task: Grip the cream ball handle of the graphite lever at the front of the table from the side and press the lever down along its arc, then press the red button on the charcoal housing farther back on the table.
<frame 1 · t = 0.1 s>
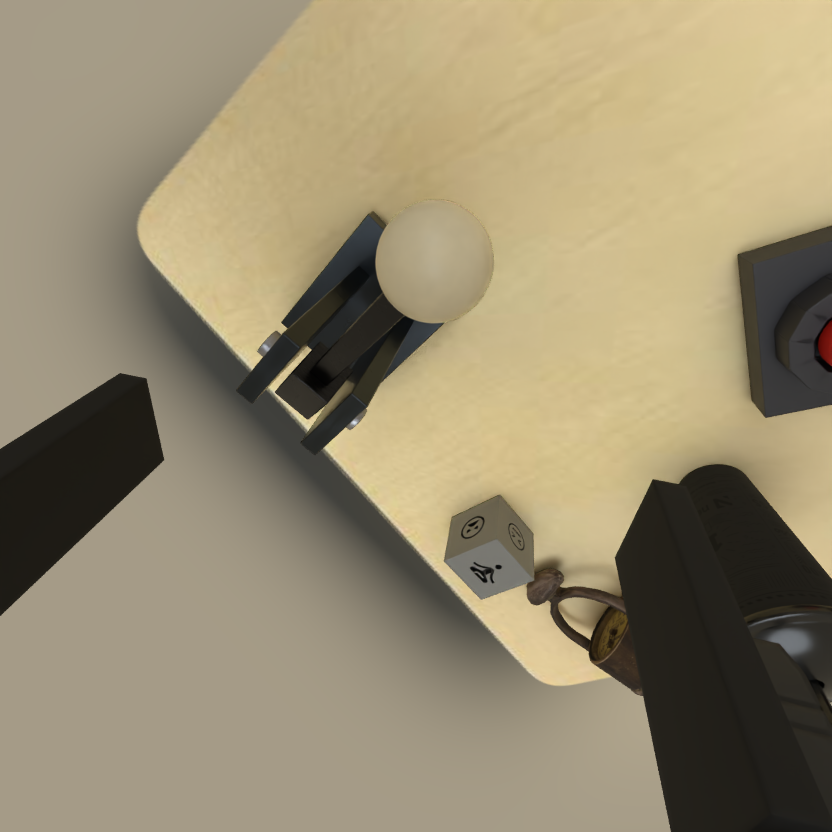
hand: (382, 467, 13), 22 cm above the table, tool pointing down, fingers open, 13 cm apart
dice cube: (492, 523, 42), on the table
bracket: (371, 309, 34), on the table
lever: (363, 332, 20), point 13 cm above the table, hinge at 25.0°
button box: (822, 312, 28), on the table
brown antique clock: (600, 592, 44), on the table
drinking cup: (711, 488, 36), on the table
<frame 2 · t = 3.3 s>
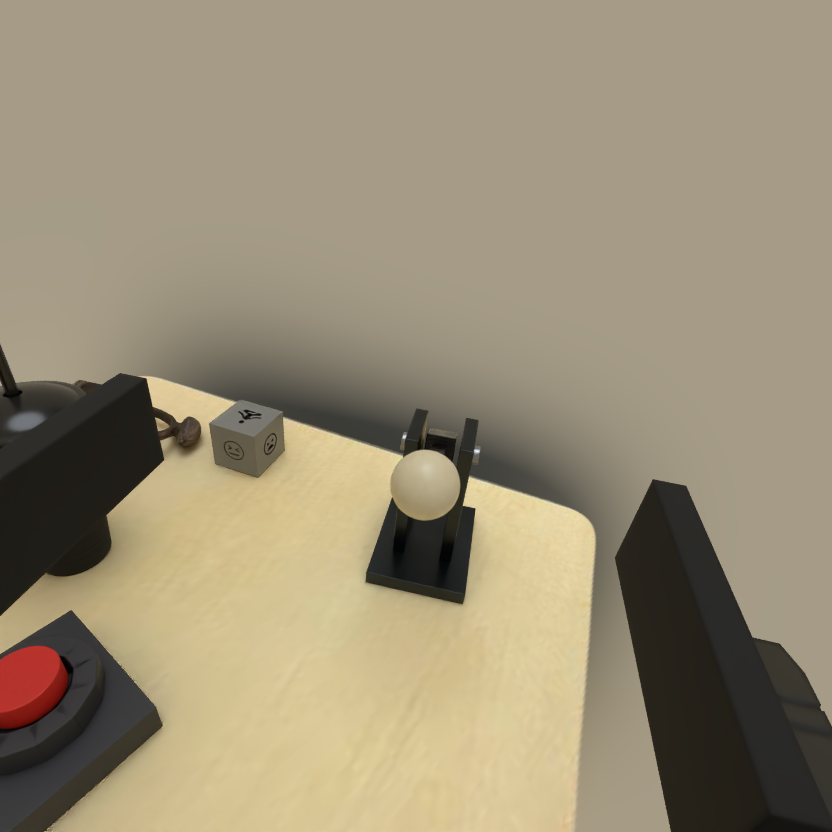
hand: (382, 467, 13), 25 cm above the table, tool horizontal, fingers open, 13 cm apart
dice cube: (251, 458, 51), on the table
bracket: (424, 546, 43), on the table
lever: (433, 464, 32), point 13 cm above the table, hinge at 25.0°
red button: (24, 685, 26), point 4 cm above the table, slide at 0.1 cm
button box: (49, 726, 29), on the table
brown antique clock: (133, 447, 51), on the table
drinking cup: (77, 553, 39), on the table
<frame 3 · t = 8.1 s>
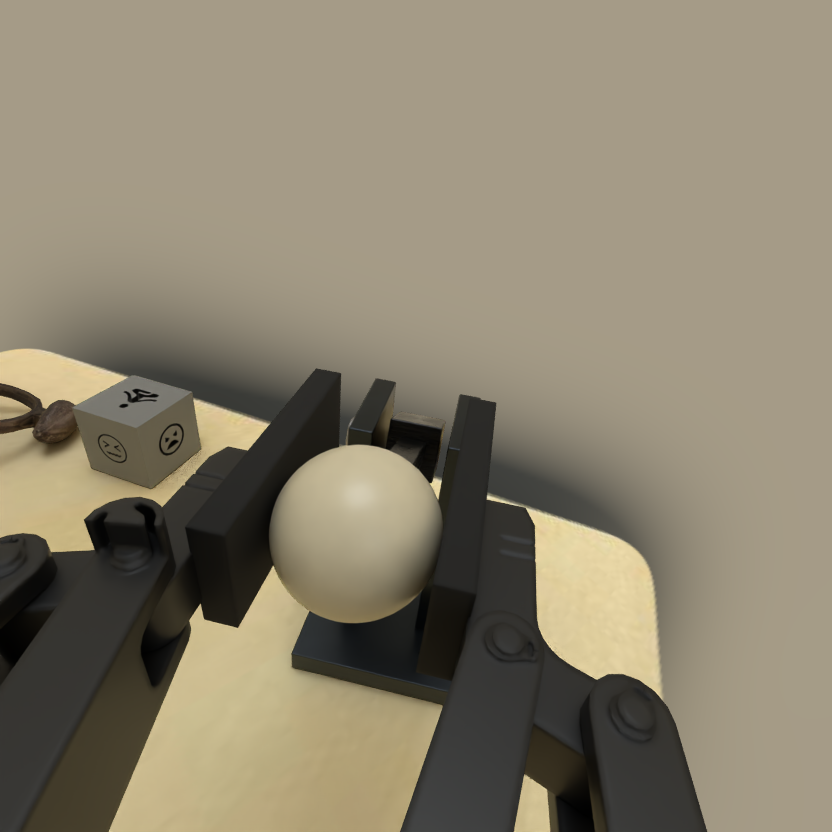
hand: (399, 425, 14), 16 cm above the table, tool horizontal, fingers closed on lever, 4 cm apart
dice cube: (149, 460, 35), on the table
bracket: (393, 600, 28), on the table
lever: (394, 475, 16), point 13 cm above the table, hinge at 25.1°, touching gripper
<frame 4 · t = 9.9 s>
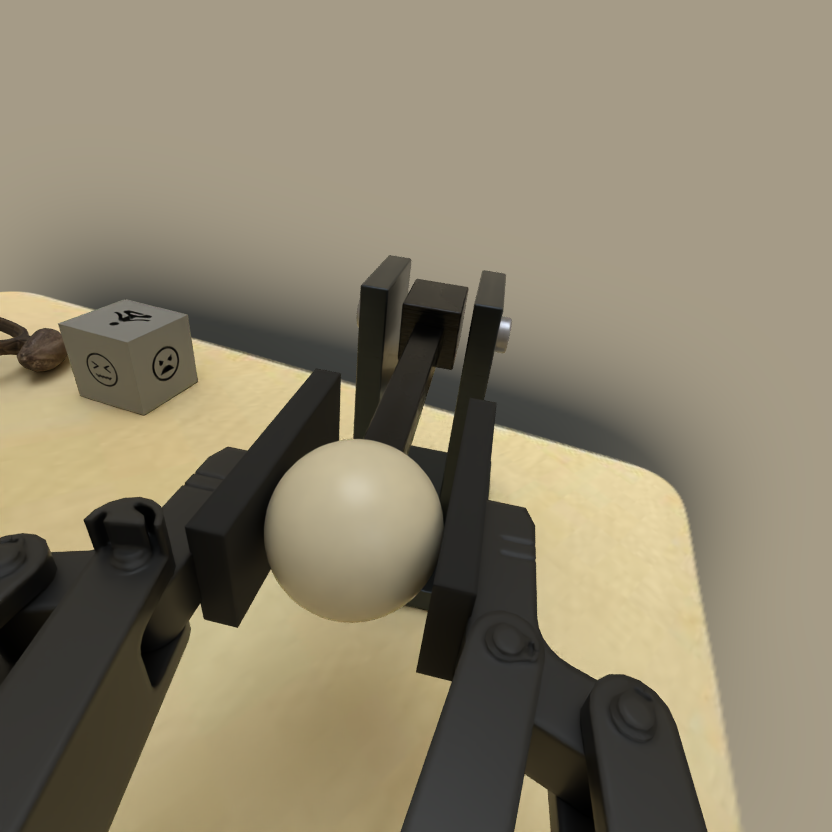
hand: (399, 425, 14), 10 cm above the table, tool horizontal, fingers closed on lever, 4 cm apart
dice cube: (142, 390, 33), on the table
bracket: (406, 520, 25), on the table
lever: (404, 398, 15), point 11 cm above the table, hinge at -2.8°, touching gripper
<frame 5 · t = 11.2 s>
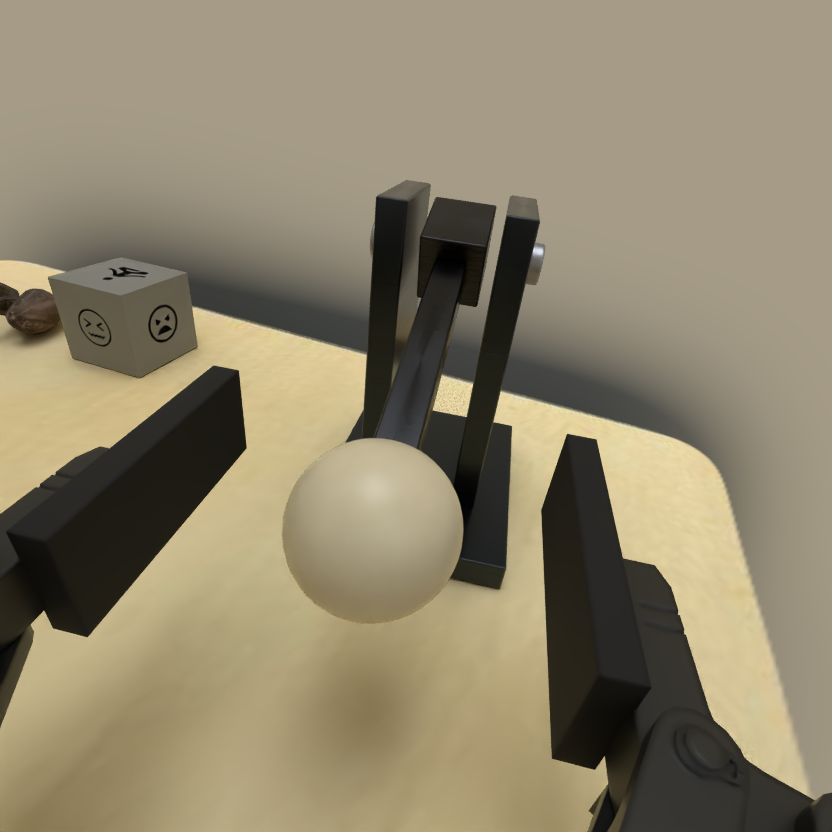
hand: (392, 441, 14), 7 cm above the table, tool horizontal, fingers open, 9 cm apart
dice cube: (138, 354, 31), on the table
bracket: (421, 485, 23), on the table
lever: (423, 360, 14), point 9 cm above the table, hinge at -18.0°
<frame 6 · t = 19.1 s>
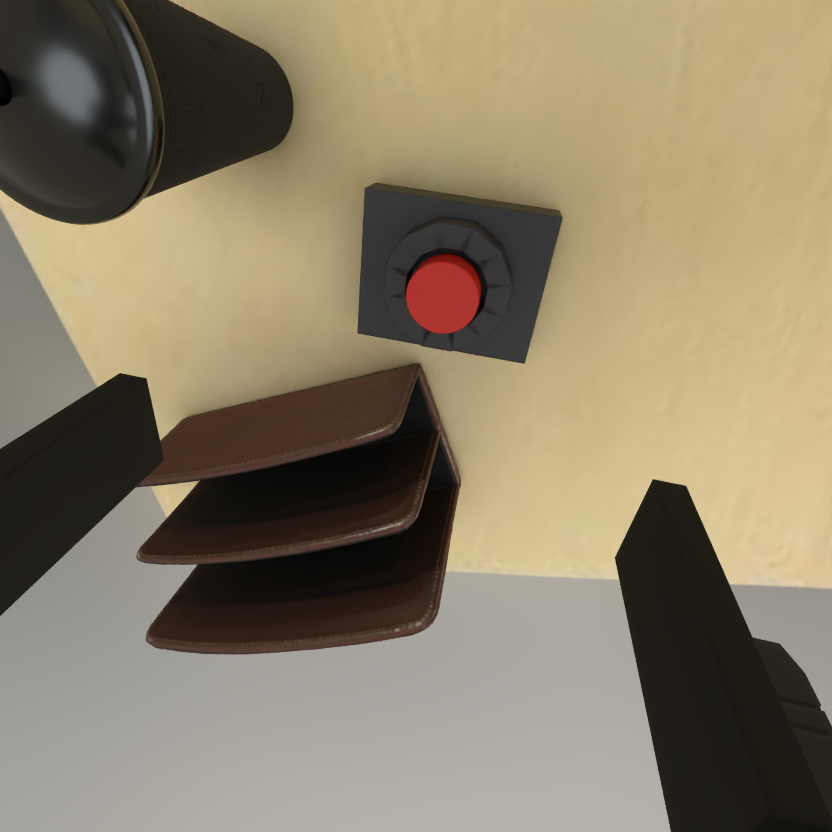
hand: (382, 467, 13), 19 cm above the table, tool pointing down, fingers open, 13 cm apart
red button: (444, 294, 24), point 4 cm above the table, slide at 0.1 cm
button box: (454, 270, 28), on the table
letter holder: (320, 445, 37), on the table
drinking cup: (252, 101, 26), on the table
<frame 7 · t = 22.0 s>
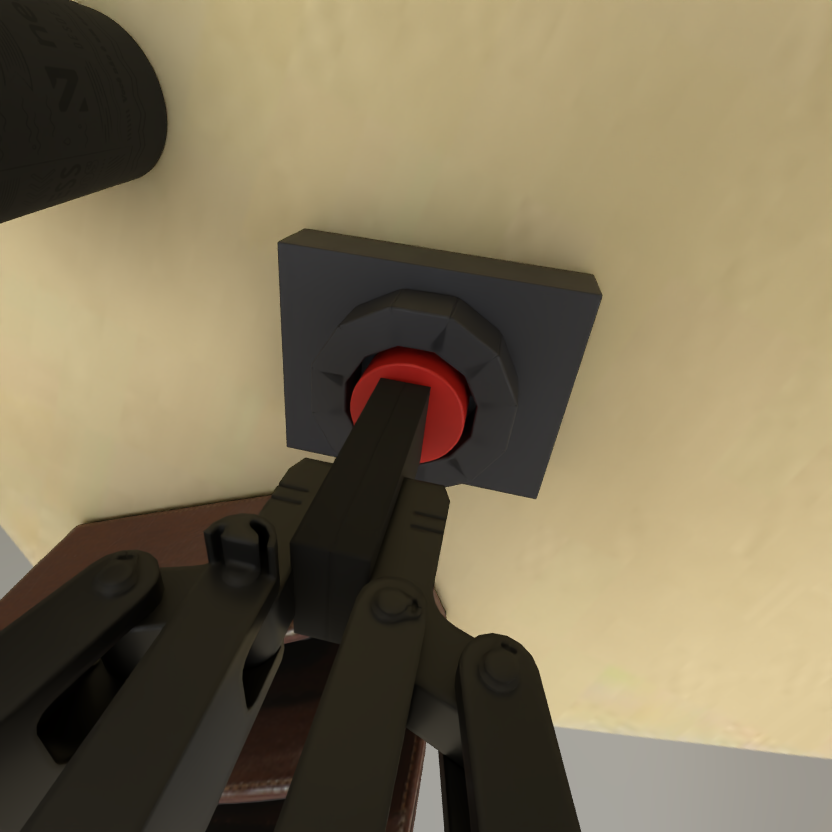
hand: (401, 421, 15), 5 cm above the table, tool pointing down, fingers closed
red button: (411, 402, 16), point 4 cm above the table, slide at -0.8 cm, touching gripper
button box: (430, 357, 19), on the table
letter holder: (259, 563, 27), on the table
drinking cup: (105, 101, 16), on the table
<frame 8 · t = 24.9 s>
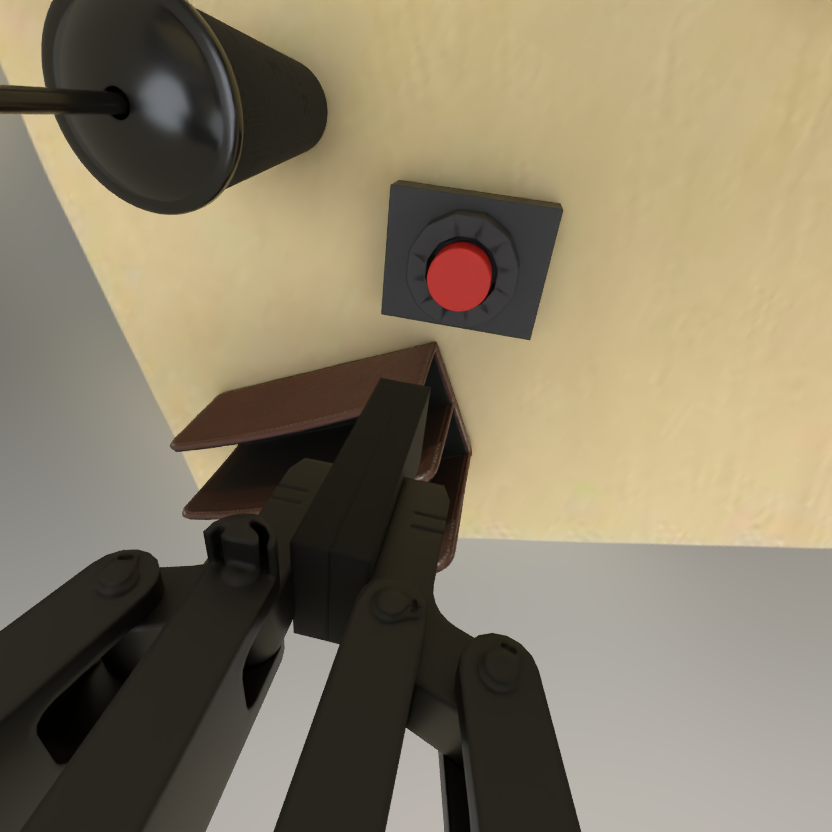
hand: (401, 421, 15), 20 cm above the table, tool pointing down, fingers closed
red button: (459, 276, 28), point 4 cm above the table, slide at 0.1 cm
button box: (467, 257, 32), on the table
letter holder: (343, 419, 41), on the table
drinking cup: (291, 108, 29), on the table
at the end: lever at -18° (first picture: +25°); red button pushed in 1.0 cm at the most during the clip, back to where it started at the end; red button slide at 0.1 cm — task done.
